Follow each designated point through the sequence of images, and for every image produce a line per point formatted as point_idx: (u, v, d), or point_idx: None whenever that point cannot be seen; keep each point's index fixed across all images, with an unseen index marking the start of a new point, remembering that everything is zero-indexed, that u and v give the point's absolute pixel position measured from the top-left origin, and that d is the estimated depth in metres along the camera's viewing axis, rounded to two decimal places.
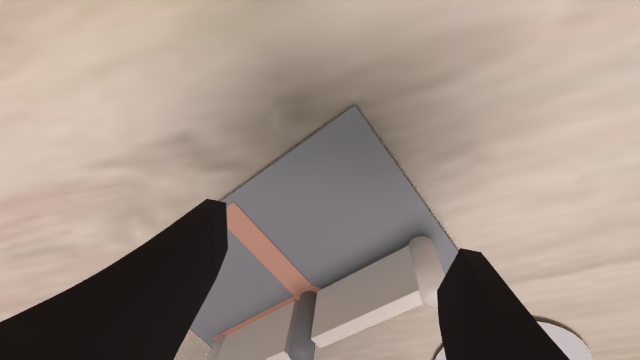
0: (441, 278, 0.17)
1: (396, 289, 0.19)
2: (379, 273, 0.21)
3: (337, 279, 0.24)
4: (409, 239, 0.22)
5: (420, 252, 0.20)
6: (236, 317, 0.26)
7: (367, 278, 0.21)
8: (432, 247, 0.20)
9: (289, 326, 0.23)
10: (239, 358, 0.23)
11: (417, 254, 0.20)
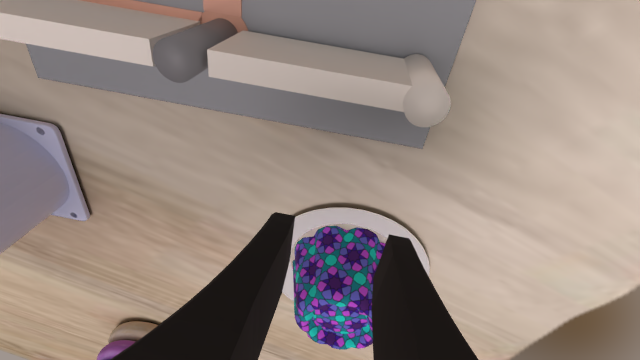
0: None
1: (375, 73, 0.12)
2: (352, 56, 0.14)
3: None
4: (407, 55, 0.15)
5: (426, 64, 0.13)
6: None
7: (332, 52, 0.14)
8: None
9: (174, 30, 0.13)
10: (55, 14, 0.13)
11: (421, 63, 0.13)
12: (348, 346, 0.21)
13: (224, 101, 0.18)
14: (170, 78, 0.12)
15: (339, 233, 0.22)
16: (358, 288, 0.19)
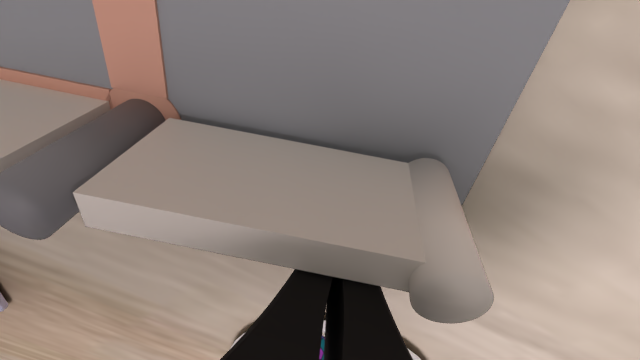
0: (484, 271, 0.07)
1: (362, 225, 0.07)
2: (328, 170, 0.09)
3: (226, 127, 0.11)
4: (412, 158, 0.10)
5: (444, 189, 0.08)
6: None
7: (297, 162, 0.09)
8: None
9: (47, 134, 0.09)
10: None
11: (436, 189, 0.08)
12: None
13: None
14: (17, 233, 0.07)
15: None
16: None
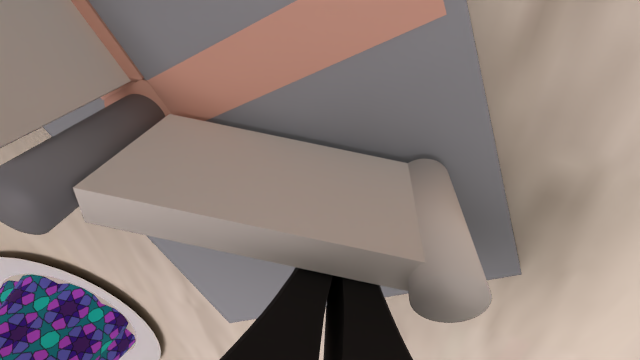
0: (483, 271, 0.07)
1: (362, 224, 0.07)
2: (329, 169, 0.09)
3: None
4: None
5: (443, 190, 0.09)
6: None
7: (299, 161, 0.09)
8: None
9: (70, 111, 0.08)
10: None
11: (435, 189, 0.09)
12: None
13: None
14: None
15: (89, 305, 0.18)
16: None
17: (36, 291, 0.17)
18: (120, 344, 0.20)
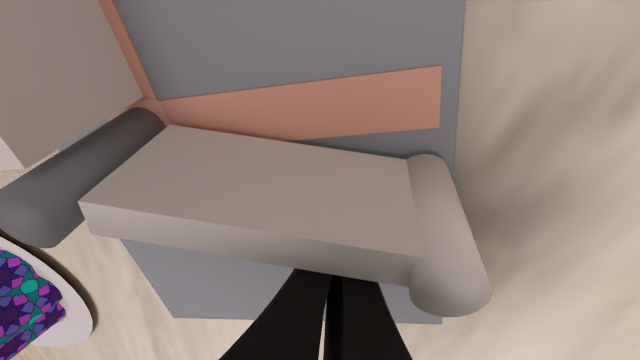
0: None
1: (360, 223, 0.07)
2: (327, 170, 0.09)
3: None
4: (239, 293, 0.16)
5: (441, 185, 0.09)
6: None
7: (296, 163, 0.09)
8: None
9: (88, 129, 0.08)
10: None
11: (433, 184, 0.09)
12: None
13: None
14: None
15: (24, 276, 0.17)
16: None
17: None
18: (49, 318, 0.19)
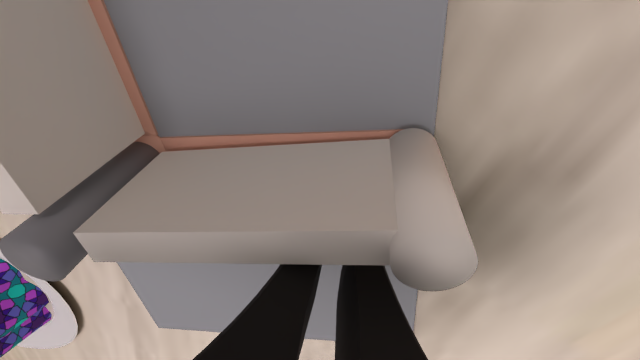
0: (466, 227, 0.06)
1: (333, 207, 0.07)
2: (305, 164, 0.09)
3: None
4: (224, 309, 0.17)
5: (421, 155, 0.08)
6: None
7: (276, 163, 0.09)
8: (442, 160, 0.09)
9: (94, 171, 0.09)
10: None
11: (412, 156, 0.08)
12: None
13: None
14: (4, 253, 0.08)
15: (11, 281, 0.18)
16: None
17: None
18: (35, 321, 0.19)
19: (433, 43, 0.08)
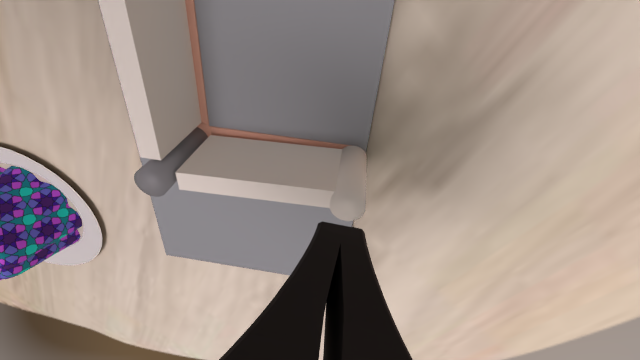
0: (364, 194, 0.15)
1: (308, 178, 0.15)
2: (296, 155, 0.17)
3: None
4: (219, 244, 0.24)
5: (354, 160, 0.16)
6: (208, 19, 0.15)
7: (280, 153, 0.17)
8: (366, 164, 0.17)
9: (180, 141, 0.17)
10: (154, 51, 0.13)
11: (350, 160, 0.16)
12: None
13: None
14: (135, 177, 0.15)
15: (61, 204, 0.24)
16: (21, 255, 0.22)
17: (23, 181, 0.23)
18: (69, 239, 0.26)
19: (369, 106, 0.17)
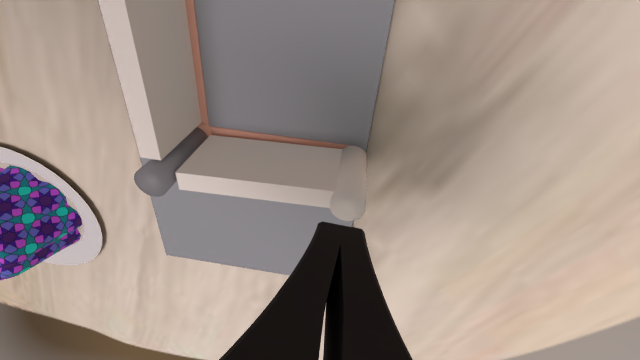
0: (364, 194, 0.15)
1: (308, 178, 0.15)
2: (296, 155, 0.17)
3: None
4: (219, 244, 0.24)
5: (354, 160, 0.16)
6: (208, 19, 0.15)
7: (280, 153, 0.17)
8: (366, 164, 0.17)
9: (180, 141, 0.17)
10: (154, 51, 0.13)
11: (350, 160, 0.16)
12: None
13: None
14: (135, 177, 0.15)
15: (60, 203, 0.24)
16: (21, 254, 0.22)
17: (22, 180, 0.23)
18: (69, 238, 0.26)
19: (369, 106, 0.17)
